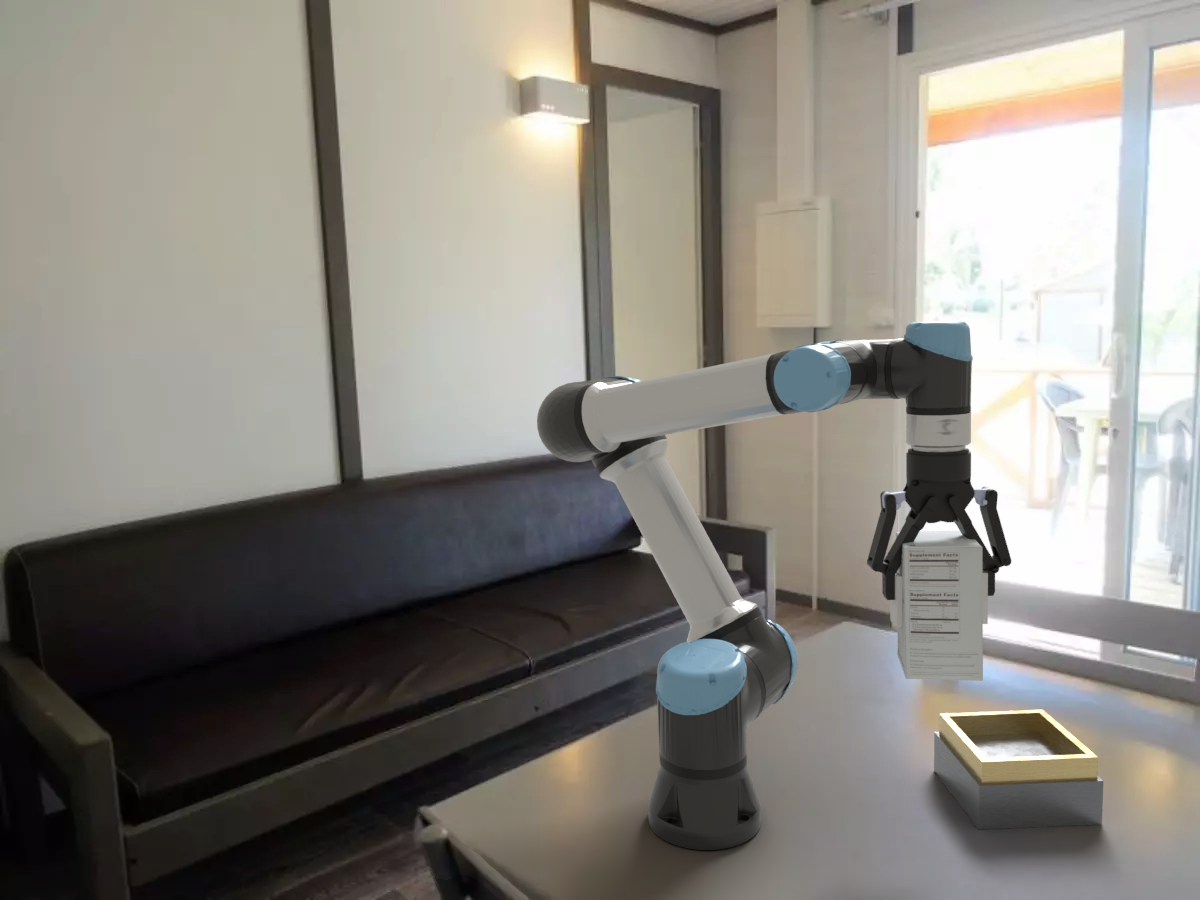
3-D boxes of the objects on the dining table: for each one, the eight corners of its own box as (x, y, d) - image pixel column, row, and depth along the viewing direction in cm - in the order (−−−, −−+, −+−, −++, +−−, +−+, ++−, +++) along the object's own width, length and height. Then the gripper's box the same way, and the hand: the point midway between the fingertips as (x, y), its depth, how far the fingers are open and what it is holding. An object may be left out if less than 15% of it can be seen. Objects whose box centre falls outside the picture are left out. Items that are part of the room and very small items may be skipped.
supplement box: (984, 682, 113) (984, 546, 111) (905, 680, 115) (903, 547, 113) (969, 654, 123) (969, 529, 120) (896, 653, 124) (894, 529, 122)
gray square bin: (978, 829, 121) (979, 763, 120) (934, 770, 137) (934, 712, 136) (1101, 824, 121) (1104, 758, 120) (1042, 766, 137) (1044, 707, 136)
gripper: (854, 455, 112) (856, 635, 115) (1044, 446, 111) (1041, 628, 114) (839, 447, 119) (841, 616, 122) (1017, 439, 119) (1015, 609, 121)
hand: (938, 622), depth 118 cm, fingers closed on supplement box, 10 cm apart
